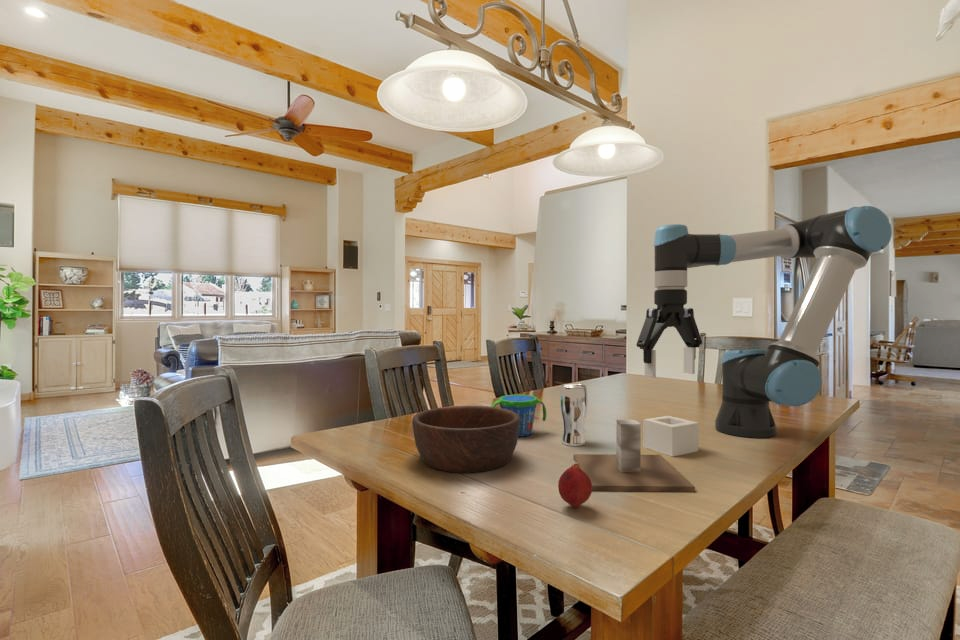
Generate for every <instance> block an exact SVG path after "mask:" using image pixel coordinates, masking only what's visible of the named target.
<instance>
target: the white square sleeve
mask: <svg viewBox="0 0 960 640" xmlns="http://www.w3.org/2000/svg"><path fill="white" fill-rule="evenodd" d="M642 424H643V425H642V426H643V427H642V428H643V429H642V430H643V431H642V432H643V433H642V436H643V437H642V441H643V442H642V448H643V449H644V448H645V449H648V450H651V451H653V452H657V453H660V454H662V455H665V456H669V457H677V456H683V455H689V454H691V453H697V452H699V422H696V421H692V420H688V419H685V418H680V417H675V416H671V415H665V416H664V415H663V416H659V417H651V418H650V417H649V418H644V419H642Z"/></svg>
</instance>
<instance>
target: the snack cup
mask: <svg viewBox="0 0 960 640" xmlns="http://www.w3.org/2000/svg"><path fill="white" fill-rule="evenodd" d="M538 403H540V404H541V405H542V422H545V421H546V419H547V407H546V405H545V404H544V402H543V401H542V400H541V399H539V398H538V397H537V396H536V395H531V394H507V395H506V394H505V395H502V396H500V397H499V399H497V400H495V401H494V402H493V404H492V406H491V407H496V406H497V405H498V404H499V406H500V407H499V408H502V409H507V410H510V411H513V412H515V413H516V414H518V415H519V417H520V427H519V434H518V437H525V436H527V437H528V436H530V435H531V434H532V433H533V429H534V422H535V412H536V408H537V404H538Z"/></svg>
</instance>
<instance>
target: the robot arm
mask: <svg viewBox="0 0 960 640" xmlns="http://www.w3.org/2000/svg"><path fill="white" fill-rule="evenodd" d="M892 234H893V230H892V225H891V223H890V221H889V218H888V217H887V215H886V213H884V212H883V210H881V209H879V208H878V207H875V206H873V205H872V206H871V205H862V206H852V207H850V208H849V209H845V210H840V211H839V210H838V211H835V212H830V213H825V214H821V215H817V216H814V217H811V218H807V219H805V220H804V219H803V220H801V221H798V222H794V223H788V224H782V225H781V226H779V227H778V228H776V229H770V230H769V229H767V230H761V231H753V232H743V233H736V234H729V235H728V234H720V233H717V234H710V233H709V234H707V233H706V234H703V233H702V234H697V233H695V234H694V233H693V234H691V233H689V231H688V226H687V225H685V224H680V223H677V224H673V223H672V224H665V225H661V226H658V227H657V228H656V229H655V231H654V242H653V247H654V288H656V289H655V290H654V293H653V294H654V296H653V297H654V298H653V301H654V304H655V305H656V308H647V309H646V314H645V320H644V323H643V325H642V328H641V331H640V333H639V335H638V338H637V341H636V347H638V348H639V349H641V350H642V351H643V352H642V353H643V357H642V358H643V359H642V360H643V364H644V377H646V378H653V379H655V378H657V377H656V376H657V373H656V371H657V367H656V365H657V361H656V360H657V355H656V354H657V353H656V352H657V350H655V349H654V348H655V346H656V344H657V343H658V341H659V340H660V338H661V336H662V334H663V333H664V331H665V330H666V329H667V328H675V329H676V331H677V333H678V335H679V336H680V338H681V339H682V341H683V342H684V344H685V346H683V373H684V374H691V375H693V374H695V369H696V367H695V365H696V364H695V363H696V362H695V361H696V351H697V349H696V348H700V347H701V345H702V344H703V340H702V337H701V334H700V331H699V328H698V325H697V322H696V320H695V314H694V313H695V312H694V309H693V307H689V308H687V307H685V308H684V306H685V305H687V304H688V290H687V289H685V288H687V287H688V269H690V268H699V267H704V266H716V267H717V266H725V265H729V264H730V263H735V262H737V263H738V262H745V261H754V260H760V259H768V258H776V257H779V258H782V259H788V260H789V259H795V258H796V259H797V258H799V259H801V258H803V259H804V258H805V259H806V258H812V259H813V258H815V259H816V262H815V263H814V266H813V268H812V270H811V272H810V274H809V276H808V278H807V281H806V282H805V284H804V287H803V288H802V290H801V293H800V296H799V297H798V299H797V301H796V303H795V305H794V307H793V310H792V312H791V314H790V316H789V318H788V320H787V322H786V325H785V327H784V329H783V331H782V333H781V336H780V337H779V338H778V340H777V341H774V342H772V343H770V344H769V345H768V347H767V349H761V348H760V349H736V350H734V349H733V350H727V351H725V352H724V353H723V355H722V361H721V366H722V369H721V370H722V371H721V375H722V376H721V377H722V379H721V383H722V384H721V385H722V386H721V390H722V391H721V397H722V398H721V399H722V400H721V405H720V407H719V410H718V412H717V415H716V418H715V423H714V428H715V430H717V431H718V432H720V433H724V434H727V435H731V436H737V437H743V438H755V439H756V438H761V439H762V438H772V437H775V436H776V435H777V425H776V423H775V419H774V417H773V414H772V411H771V408H770V402H772V403H774V404H776V405H780V406H786V407H787V406H788V407H800V406H803V405H807V404H809V403H811V402H812V401H813V400H814V399H815V398H816V397H817V396H818V394H819V393H820V391H821V388H822V384H823V379H822V378H821V376H822V372H821V370H820V368H819V365H820V362H821V361H820V359H819V357H818V356H817V352H818V350H819V349H820V346H821V344H822V342H823V340H824V339H825V338H824V337H825V336H826V334H827V332H828V330H829V327H830V325H831V323H832V320H833V319H834V317H835V315H836V313H837V310H838V308H839V306H840V304H841V302H842V300H843V298H844V295H845V293H846V292H847V291H846V290H848V286H849V285H850V282H851V280H852V279H853V276H854V274H855V273H856V270H859V269H862V268H864V267H866V266H867V264H868V262H869V260H870V257H871V256H872V253H877V252H880V251H882V250H884V249H885V248H887V246H888V245H889V244H890V242H891V239H892V236H893V235H892Z"/></svg>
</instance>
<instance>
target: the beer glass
mask: <svg viewBox="0 0 960 640" xmlns="http://www.w3.org/2000/svg"><path fill="white" fill-rule="evenodd" d="M559 396H560V398H559V402H560V403H559V404H560V414H561V421H562V425H563V426H562V427H563V431H562V433H563V434H562V439H561V442H562V444H563V445H565V446H569V447H583V446H585V445H586V442H587V441H586V436H585V425H586V417H587V413H588V388H587V385H585V384H582V383H564V384H561V385H560V395H559Z"/></svg>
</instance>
